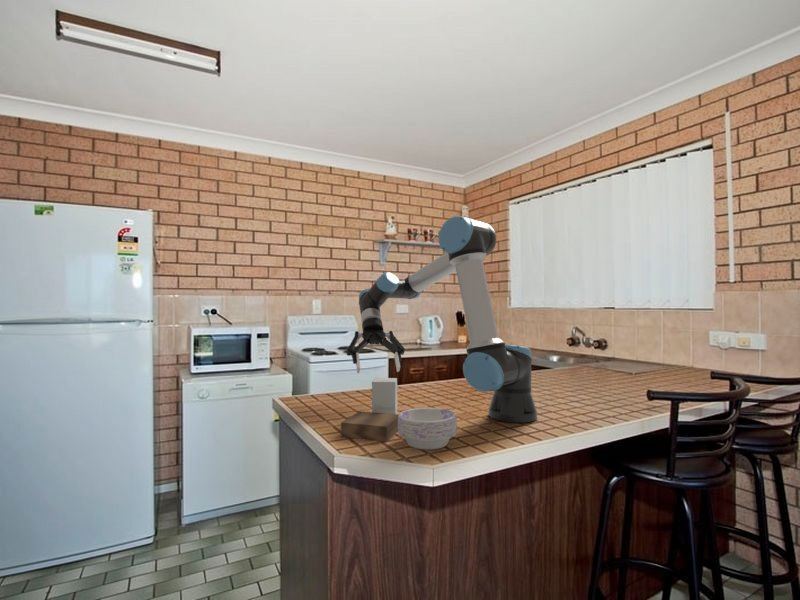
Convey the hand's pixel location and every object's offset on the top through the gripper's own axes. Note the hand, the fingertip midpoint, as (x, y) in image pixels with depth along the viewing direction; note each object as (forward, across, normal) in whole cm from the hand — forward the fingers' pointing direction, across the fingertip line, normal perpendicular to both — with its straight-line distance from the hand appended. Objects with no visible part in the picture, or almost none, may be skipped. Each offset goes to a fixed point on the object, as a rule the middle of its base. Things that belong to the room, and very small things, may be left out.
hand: (378, 370), depth 143 cm
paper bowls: (+35, -6, +15) cm, 39 cm away
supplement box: (+17, 0, -3) cm, 17 cm away
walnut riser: (+26, +6, +6) cm, 27 cm away
